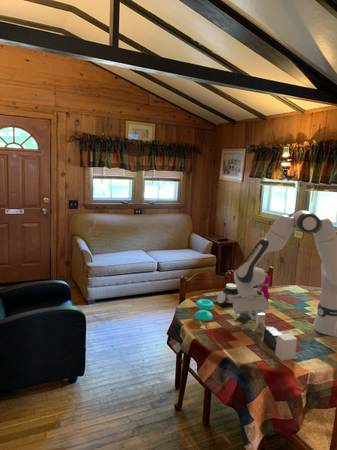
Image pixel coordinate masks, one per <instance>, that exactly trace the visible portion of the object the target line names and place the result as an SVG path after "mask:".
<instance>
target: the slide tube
mask: <svg viewBox="0 0 337 450" xmlns="http://www.w3.org/2000/svg"><path fill="white" fill-rule="evenodd" d="M265 321H266V313H264V312H258V313H257V315H256V320H255V325H254V331H255V332H256V333H262V332H264V329H265V328H267V327H268V326H267V325H266V323H265ZM275 342H276V343H277V337H275Z"/></svg>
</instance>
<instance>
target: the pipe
mask: <svg viewBox="0 0 337 450" xmlns="http://www.w3.org/2000/svg"><path fill="white" fill-rule="evenodd" d="M251 314H252V315H253V316H255V314H254V312H252V313H251ZM239 317H240V318H242V319H247V320H248V319H250V320H252V319H251V317H250V316H249V315H248V313H239Z"/></svg>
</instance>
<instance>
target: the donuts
mask: <svg viewBox="0 0 337 450" xmlns="http://www.w3.org/2000/svg"><path fill="white" fill-rule="evenodd" d="M214 304H215V303H214V302H213V301H211V300H210V299H204V298H200V299H198V300H197V301H196V302H195V305H196V307H197V308H198V309H199V310H198V311H196V312H195V314H194V317H195V318H196V320H198V321H204V322H205V321H206V322H207V321H211V320H213V317H214V316H213V314H212V313H211V311H209V310H212V309H214V306H215V305H214Z"/></svg>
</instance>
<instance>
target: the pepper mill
mask: <svg viewBox="0 0 337 450" xmlns="http://www.w3.org/2000/svg"><path fill="white" fill-rule="evenodd" d="M265 273H266V279H265V281H264V283H262V284H260V286H261V288H260V290H259V291H260V292H263V293H264V297H265V298H266V300H267V302H268V303H269V299H270V292H269V286H270V282H271V277H270V275H268V273H267V272H265Z"/></svg>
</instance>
